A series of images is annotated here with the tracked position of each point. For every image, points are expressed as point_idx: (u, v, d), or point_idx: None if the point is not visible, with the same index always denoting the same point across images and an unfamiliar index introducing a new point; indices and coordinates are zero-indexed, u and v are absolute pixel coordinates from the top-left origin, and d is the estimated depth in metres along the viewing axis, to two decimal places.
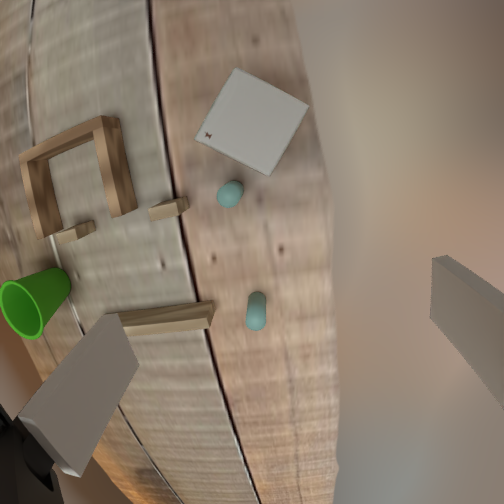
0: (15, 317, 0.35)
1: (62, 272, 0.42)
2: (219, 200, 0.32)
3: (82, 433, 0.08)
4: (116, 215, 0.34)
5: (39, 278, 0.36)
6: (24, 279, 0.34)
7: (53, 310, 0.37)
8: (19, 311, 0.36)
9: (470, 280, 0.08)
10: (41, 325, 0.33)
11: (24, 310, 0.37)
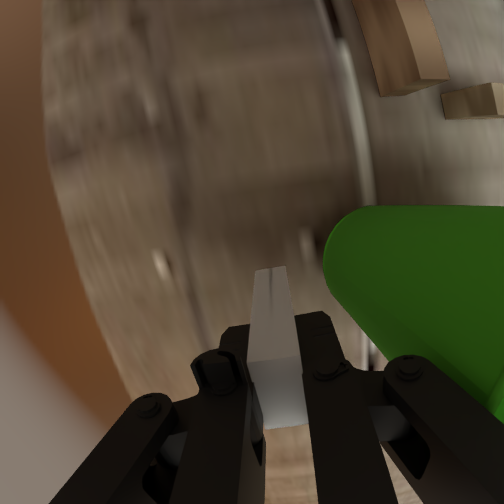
0: None
1: None
2: None
3: None
4: None
5: None
6: None
7: None
8: None
9: (276, 290, 0.11)
10: None
11: None
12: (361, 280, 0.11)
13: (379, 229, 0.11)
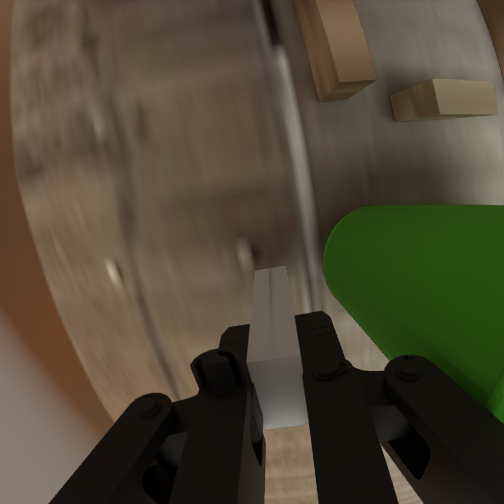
0: None
1: None
2: None
3: None
4: None
5: None
6: None
7: None
8: None
9: (276, 290, 0.11)
10: None
11: None
12: (361, 280, 0.11)
13: (379, 229, 0.11)
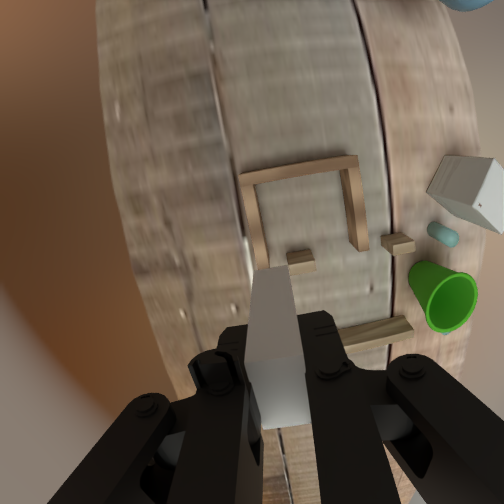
0: None
1: None
2: (447, 242, 0.37)
3: None
4: (364, 249, 0.39)
5: None
6: (451, 271, 0.36)
7: (455, 297, 0.39)
8: (423, 309, 0.38)
9: (278, 290, 0.11)
10: (472, 310, 0.35)
11: None
12: (415, 284, 0.41)
13: (420, 271, 0.41)
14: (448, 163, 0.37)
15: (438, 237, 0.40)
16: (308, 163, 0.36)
